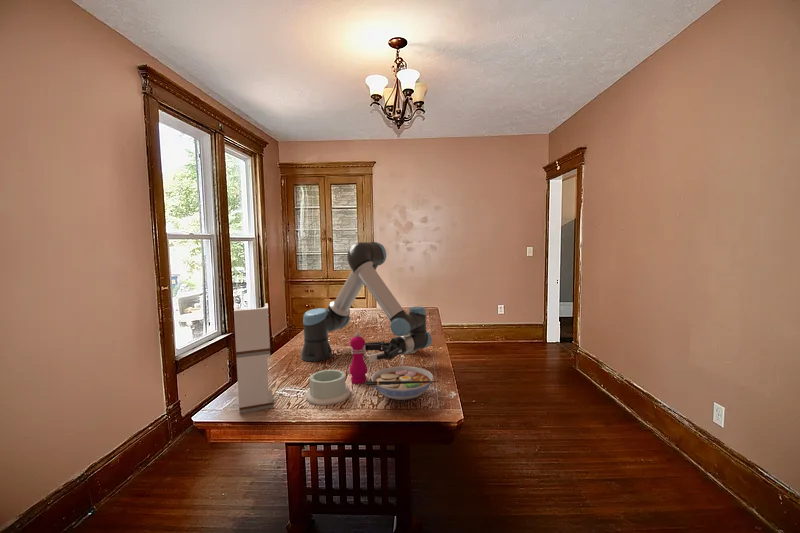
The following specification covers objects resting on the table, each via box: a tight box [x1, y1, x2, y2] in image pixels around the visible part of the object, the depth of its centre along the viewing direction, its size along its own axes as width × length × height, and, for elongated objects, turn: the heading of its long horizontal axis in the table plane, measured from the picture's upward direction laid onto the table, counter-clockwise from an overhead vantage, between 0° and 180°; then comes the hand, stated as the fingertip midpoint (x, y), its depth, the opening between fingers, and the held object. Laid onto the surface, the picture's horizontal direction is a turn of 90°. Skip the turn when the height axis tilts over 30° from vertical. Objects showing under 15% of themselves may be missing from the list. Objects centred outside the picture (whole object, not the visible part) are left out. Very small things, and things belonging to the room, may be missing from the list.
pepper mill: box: [349, 332, 368, 385], centre depth 148 cm, size 7×7×20 cm
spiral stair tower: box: [233, 302, 274, 414], centre depth 129 cm, size 11×11×35 cm
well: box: [305, 369, 351, 406], centre depth 135 cm, size 16×16×8 cm
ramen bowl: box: [365, 365, 439, 401], centre depth 133 cm, size 25×23×8 cm
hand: (360, 354), depth 148 cm, fingers open, 13 cm apart
